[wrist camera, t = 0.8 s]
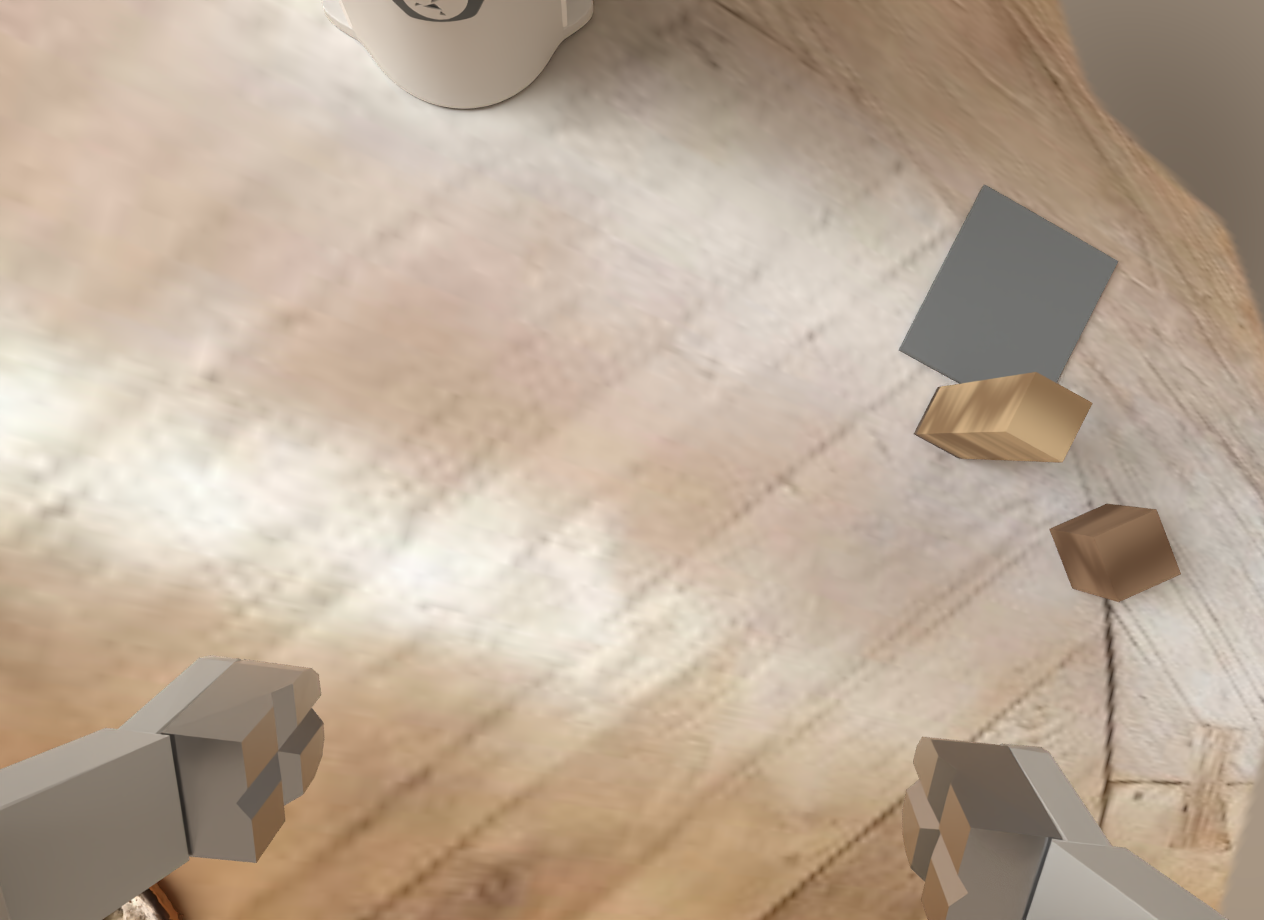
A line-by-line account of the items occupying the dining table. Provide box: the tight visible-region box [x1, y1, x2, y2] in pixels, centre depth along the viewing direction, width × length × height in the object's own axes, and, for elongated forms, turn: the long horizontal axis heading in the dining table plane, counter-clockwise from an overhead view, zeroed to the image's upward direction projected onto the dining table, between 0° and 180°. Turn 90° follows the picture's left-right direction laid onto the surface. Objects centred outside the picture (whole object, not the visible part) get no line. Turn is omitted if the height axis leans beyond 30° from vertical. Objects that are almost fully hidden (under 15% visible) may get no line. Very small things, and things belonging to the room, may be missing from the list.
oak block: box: [914, 372, 1092, 462], centre depth 50 cm, size 4×4×12 cm
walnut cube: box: [1050, 504, 1181, 602], centre depth 55 cm, size 5×5×5 cm
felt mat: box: [899, 185, 1118, 384], centre depth 56 cm, size 14×12×1 cm
